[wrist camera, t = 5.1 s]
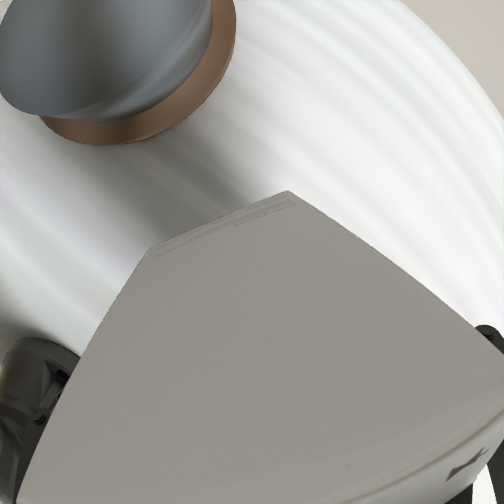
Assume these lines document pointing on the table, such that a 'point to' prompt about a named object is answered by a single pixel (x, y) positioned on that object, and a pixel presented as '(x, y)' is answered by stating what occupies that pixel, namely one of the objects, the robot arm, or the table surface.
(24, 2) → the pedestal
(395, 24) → the table surface
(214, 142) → the table surface
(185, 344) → the supplement box
